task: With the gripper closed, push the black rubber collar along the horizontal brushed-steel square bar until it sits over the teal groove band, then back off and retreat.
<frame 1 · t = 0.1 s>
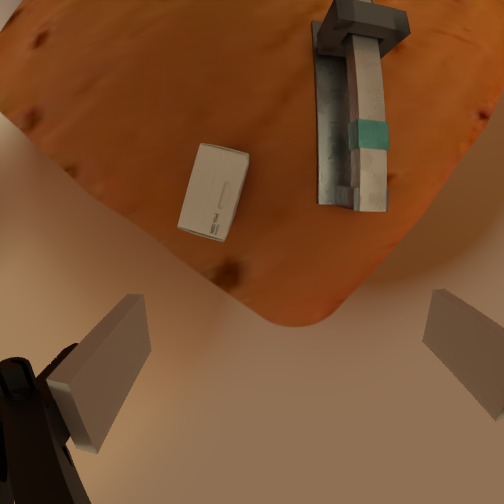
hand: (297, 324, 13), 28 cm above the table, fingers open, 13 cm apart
ink box: (223, 188, 39), on the table
pipe rail: (345, 108, 36), on the table
ring collar: (359, 32, 27), point 8 cm above the table, slide at 0.0 cm
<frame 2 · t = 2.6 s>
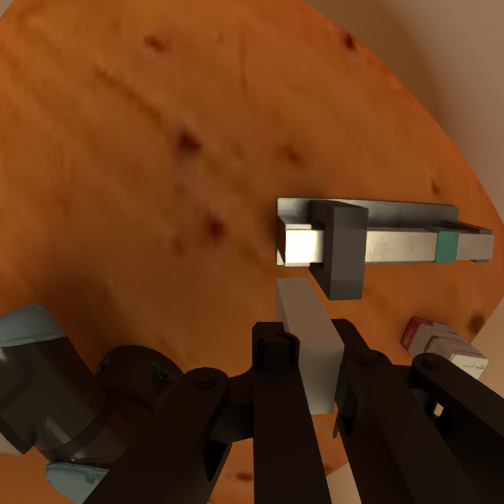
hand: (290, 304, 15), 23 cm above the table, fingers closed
ink box: (424, 334, 42), on the table
pipe rail: (376, 231, 38), on the table
ring collar: (334, 243, 30), point 8 cm above the table, slide at 0.0 cm
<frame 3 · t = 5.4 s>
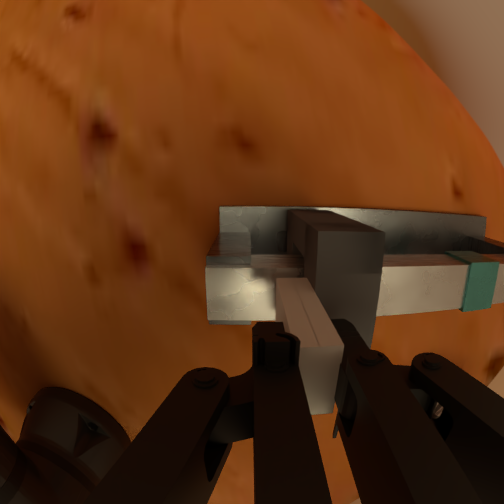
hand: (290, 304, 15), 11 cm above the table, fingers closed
pipe rail: (371, 254, 26), on the table
ring collar: (321, 285, 18), point 8 cm above the table, slide at 1.6 cm, touching gripper
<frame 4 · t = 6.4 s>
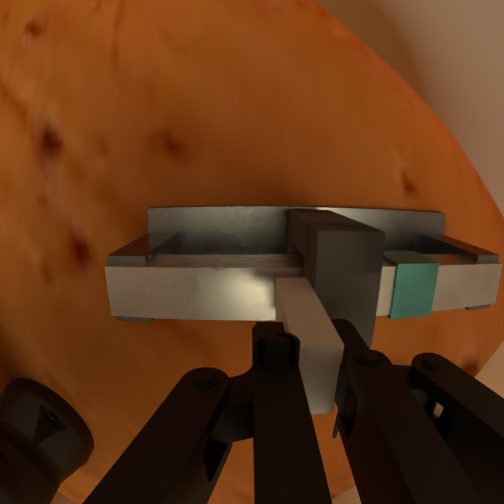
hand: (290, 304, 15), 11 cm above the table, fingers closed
pipe rail: (306, 254, 26), on the table
ring collar: (321, 285, 18), point 8 cm above the table, slide at 7.4 cm, touching gripper
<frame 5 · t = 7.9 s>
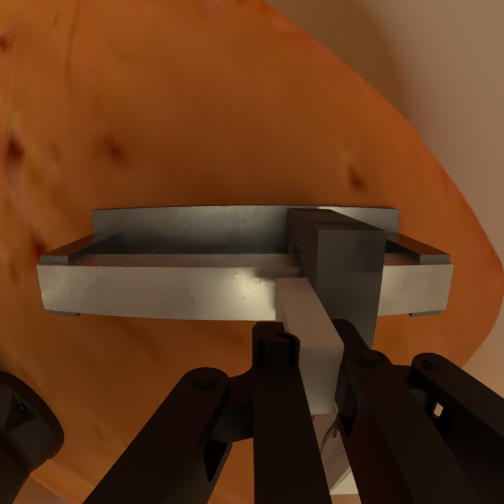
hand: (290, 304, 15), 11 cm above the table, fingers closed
ink box: (348, 397, 30), on the table
pipe rail: (244, 253, 26), on the table
ring collar: (322, 284, 18), point 8 cm above the table, slide at 12.7 cm, touching gripper
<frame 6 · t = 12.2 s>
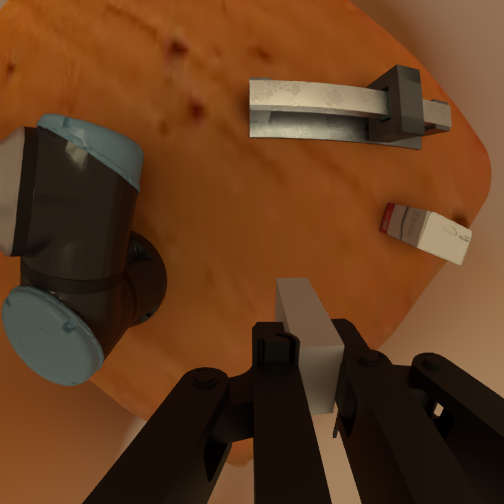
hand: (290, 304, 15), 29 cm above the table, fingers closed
ink box: (404, 225, 44), on the table
pipe rail: (340, 114, 40), on the table
ring collar: (393, 107, 32), point 8 cm above the table, slide at 12.7 cm
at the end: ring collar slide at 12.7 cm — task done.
